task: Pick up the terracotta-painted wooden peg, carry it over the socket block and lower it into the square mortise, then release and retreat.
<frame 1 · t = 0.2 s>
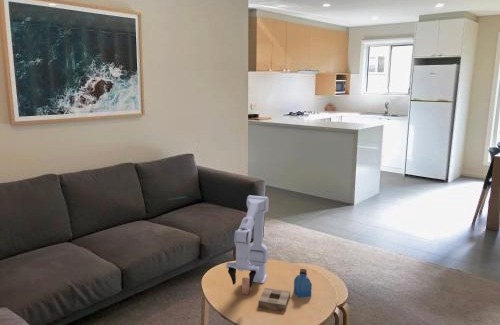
hand: (242, 284, 176), 10 cm above the table, fingers open, 7 cm apart
peg: (245, 292, 188), on the table
perfume bottle: (302, 294, 188), on the table
socket: (274, 302, 180), on the table
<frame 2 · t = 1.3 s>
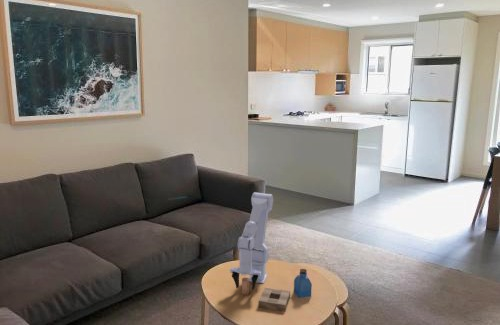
hand: (245, 288, 188), 2 cm above the table, fingers open, 7 cm apart
nothing on the table moved.
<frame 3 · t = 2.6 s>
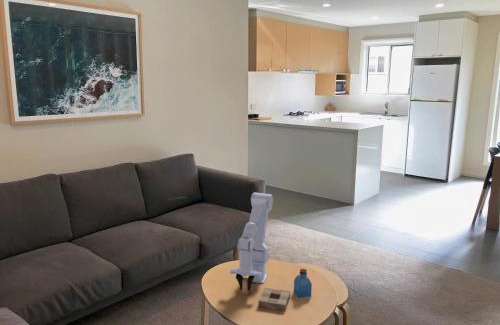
hand: (245, 289, 188), 2 cm above the table, fingers closed on peg, 3 cm apart
peg: (245, 292, 188), on the table, touching gripper
everything else where it was.
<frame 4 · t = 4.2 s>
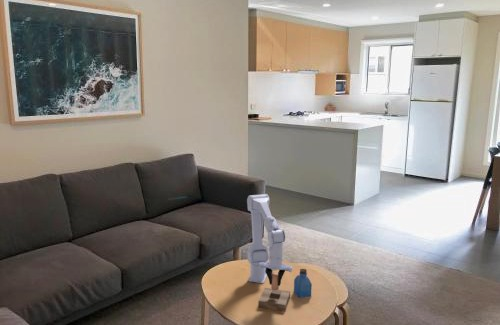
hand: (275, 284, 179), 9 cm above the table, fingers closed on peg, 3 cm apart
peg: (275, 288, 179), point 7 cm above the table, touching gripper
everything else where it was.
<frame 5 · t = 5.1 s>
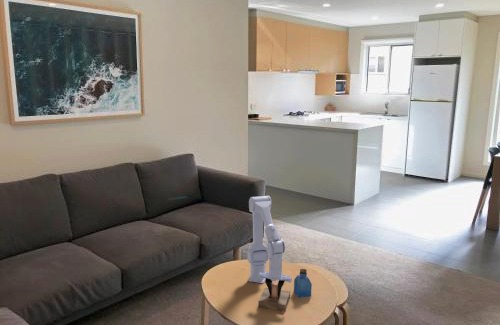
hand: (274, 294, 180), 4 cm above the table, fingers closed on peg, 3 cm apart
peg: (274, 298, 180), point 2 cm above the table, touching gripper
everything else where it was.
when the fingers open (4 cm above the table, at t = 5.8 s): peg drops 2 cm, resting in socket.
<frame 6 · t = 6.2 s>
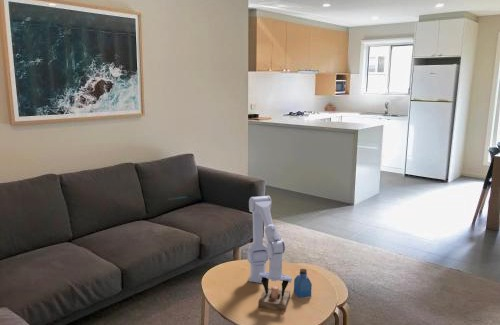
hand: (274, 294, 180), 4 cm above the table, fingers open, 7 cm apart
peg: (274, 302, 180), resting in socket
everything else where it was.
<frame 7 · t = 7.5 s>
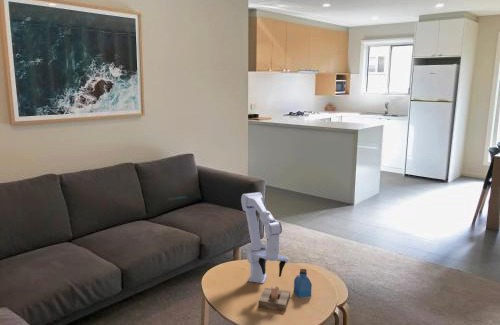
hand: (272, 274, 186), 10 cm above the table, fingers open, 7 cm apart
nothing on the table moved.
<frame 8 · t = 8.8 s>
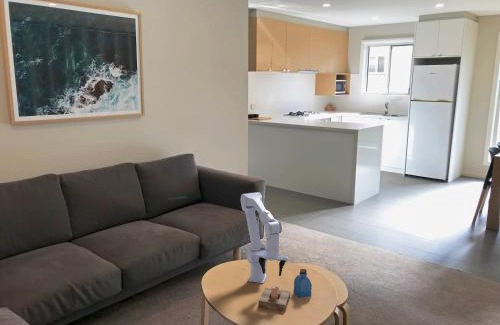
hand: (272, 274, 186), 10 cm above the table, fingers open, 7 cm apart
nothing on the table moved.
at the end: peg 0.1 cm off-centre on the socket, point 0.0 cm above the socket's base; peg tilted 0°; the gripper is holding nothing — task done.
